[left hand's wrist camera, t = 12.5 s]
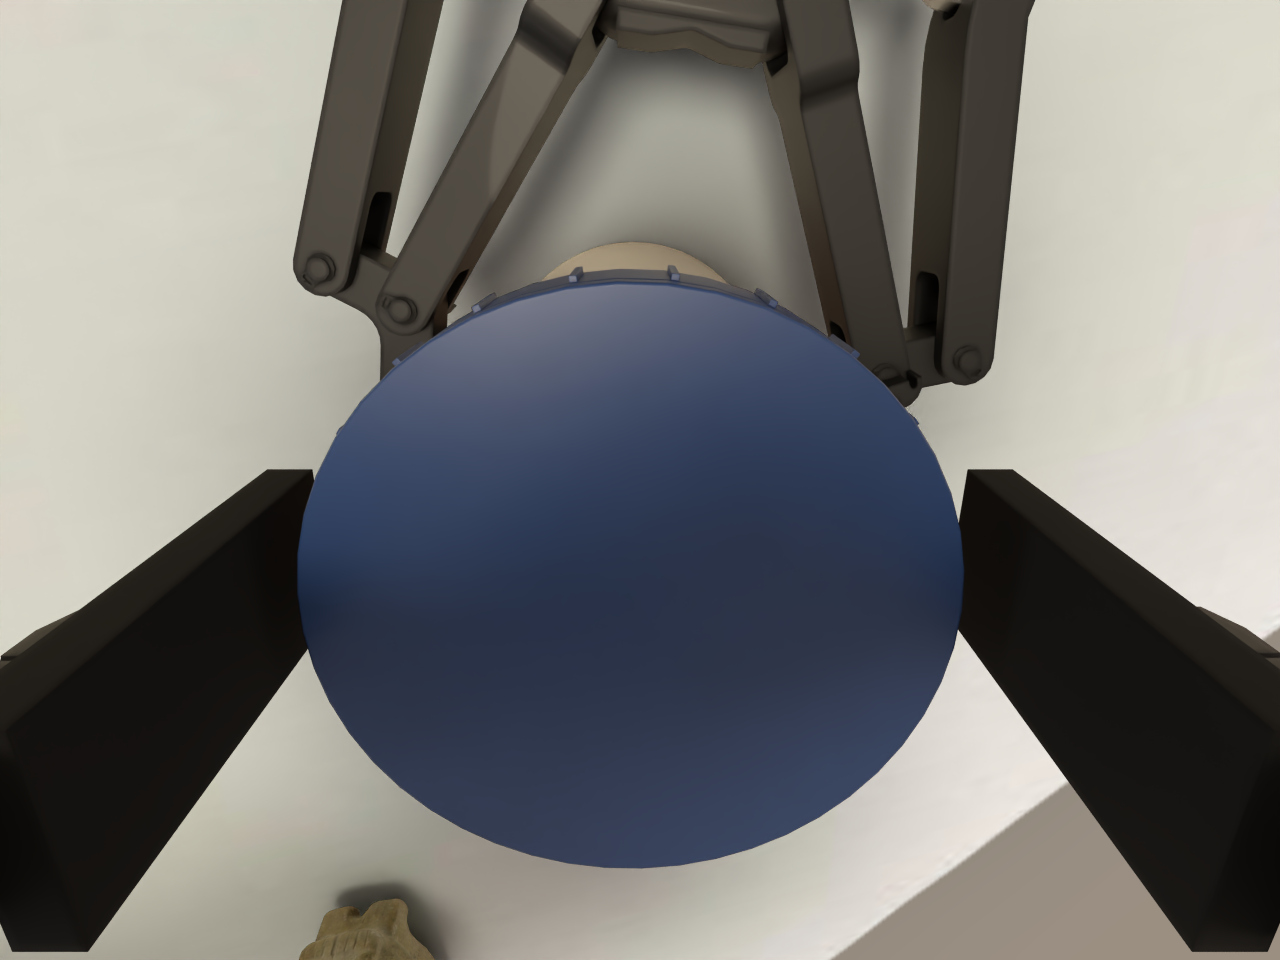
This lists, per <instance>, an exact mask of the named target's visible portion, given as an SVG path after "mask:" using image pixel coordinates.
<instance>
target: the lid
mask: <svg viewBox="0 0 1280 960" xmlns="http://www.w3.org/2000/svg"><path fill="white" fill-rule="evenodd" d="M777 304H778V302H777V301H776V300H775V299H773V298H772V297H771V296H769V295H768V294H767V293H765V292H764V291H763V290H760V289H758V288H757V289H756V291H755V293H752V292H750V291H748V290H745V289H742V288H739V287H735V286H732V285H729V284H726V283H723V282H720V281H716V280H713V279H710V278H707V277H702V276H696V275H690V274H684V273H679V272H678V270H677V268H676V266H674V265H668V268H667V271H666V270H648V269H611V270H601V271H591V272H583V267H582V266H581V267H575V269H574V270H573V271H572V272H571V273H570V275H566V276H562V277H558V278H554V279H550V280H546V281H541V282H537V283H534V284H531V285H529V286H526V287H523V288H521V289H518V290H516V291H513V292H511V293H508V294H506V295H503V296H501V297H498V298H497V296H496V294H495V293H492V294H490V295H488V296H487V297H486V298H484V299H483V300H481V301H480V302H478V303H477V304H475V305H474V306H473V307H471V308H472V310H473V311H472V312H471V313H469V314H467V315H465V316H463V317H462V318H460V319H458V320H457V321H455V322H454V323H453V324H451V325H450V326H448V327H447V328H445V329H444V330H443V331H441V332H440V333H438V334H437V335H436V336H434V337H433V338H431V339H430V340H429V341H427V342H426V343H425V344H424V343H423V342H422V341H420V342H419V343H417V344H416V345H414V346H413V347H412V348H410V349H409V350H407V351H406V352H404V353H403V354H401V355H400V356H398V357H397V358H396V359H395V360H394V361H393V362H392V363H393V365H394V366H395V367H394V368H392V369H391V370H390V371H389V372H388V373H387V375H386V376H385V377H384V378H383V379H382V380H381V381H380V382H379V383H378V384H377V385H376V386H375V387H374V388H373V389H372V390H371V391H370V392H369V393H368V394H367V395H366V396H365V397H364V398H363V399H362V401H361V402H360V403H359V404H358V406H357V407H356V409H355V410H354V411H353V413H352V414H351V416H350V417H349V418H348V420H347V421H346V423H345V424H344V425H343V426H342V427H340V428H339V430H338V432H337V433H336V434H337V435H336V437H335V439H334V441H333V443H332V445H331V447H330V449H329V451H328V453H327V455H326V457H325V459H324V461H323V463H322V465H321V467H320V469H319V471H318V473H317V475H316V477H315V480H314V484H313V487H312V490H311V493H310V496H309V499H308V502H307V505H306V509H305V512H304V515H303V522H302V528H301V535H300V541H299V547H298V554H297V595H298V602H299V608H300V615H301V622H302V629H303V634H304V637H305V640H306V644H307V647H308V650H309V654H310V657H311V660H312V663H313V667H314V669H315V672H316V674H317V676H318V678H319V680H320V682H321V685H322V687H323V689H324V691H325V693H326V695H327V698H328V700H329V702H330V704H331V705H332V707H333V708H334V710H335V711H336V713H337V715H338V716H339V718H340V719H341V721H342V722H343V724H344V726H345V727H346V729H347V730H348V732H349V733H350V735H351V736H352V737H353V738H354V739H355V741H356V742H357V743H358V744H359V746H360V747H361V748H362V749H363V750H364V752H365V753H366V754H367V755H368V756H369V758H370V759H371V760H372V761H373V762H374V763H375V764H376V765H377V766H378V767H379V768H380V769H381V770H382V771H383V772H384V773H385V774H386V775H387V776H389V777H390V778H391V779H392V780H393V781H394V782H395V783H396V784H397V785H398V786H399V787H400V788H402V789H403V790H404V791H406V792H407V793H408V794H410V795H411V796H412V797H414V798H415V799H416V800H418V801H419V802H420V803H422V804H423V805H424V806H426V807H427V808H428V809H430V810H431V811H433V812H435V813H437V814H438V815H440V816H442V817H443V818H445V819H447V820H449V821H450V822H452V823H454V824H455V825H457V826H459V827H460V828H462V829H464V830H467V831H469V832H471V833H473V834H476V835H478V836H480V837H482V838H485V839H487V840H489V841H491V842H493V843H496V844H499V845H502V846H505V847H508V848H511V849H514V850H517V851H520V852H523V853H526V854H529V855H532V856H537V857H541V858H546V859H550V860H555V861H560V862H564V863H569V864H578V865H586V866H595V867H603V868H653V867H666V866H678V865H685V864H690V863H696V862H701V861H707V860H712V859H717V858H721V857H724V856H728V855H731V854H735V853H738V852H742V851H745V850H749V849H752V848H754V847H757V846H759V845H762V844H764V843H767V842H769V841H772V840H774V839H777V838H779V837H782V836H784V835H787V834H789V833H791V832H792V831H794V830H796V829H798V828H800V827H802V826H804V825H806V824H808V823H809V822H811V821H813V820H815V819H817V818H819V817H820V816H822V815H823V814H825V813H826V812H828V811H829V810H831V809H832V808H834V807H835V806H837V805H838V804H840V803H841V802H842V801H844V800H845V799H847V798H848V797H850V796H851V795H852V794H853V793H854V792H856V791H857V790H858V789H859V788H860V787H861V786H863V785H864V784H865V783H866V782H867V781H868V780H870V779H871V778H872V777H873V776H874V775H875V774H877V773H878V772H879V771H880V769H881V768H882V767H883V766H884V765H885V764H886V763H887V762H888V761H889V760H890V759H891V757H892V756H893V755H894V754H895V753H896V752H897V751H898V750H899V749H900V748H901V747H902V745H903V744H904V743H905V741H906V740H907V738H908V737H909V736H910V734H911V733H912V731H913V730H914V729H915V727H916V726H917V724H918V723H919V721H920V720H921V719H922V717H923V716H924V714H925V712H926V710H927V708H928V707H929V705H930V703H931V701H932V699H933V697H934V695H935V693H936V691H937V690H938V688H939V686H940V684H941V682H942V679H943V676H944V674H945V671H946V668H947V665H948V663H949V660H950V657H951V654H952V652H953V649H954V645H955V641H956V636H957V631H958V626H959V622H960V617H961V612H962V600H963V584H964V563H963V551H962V540H961V531H960V527H959V523H958V519H957V515H956V511H955V507H954V502H953V498H952V494H951V491H950V489H949V487H948V484H947V482H946V479H945V477H944V475H943V472H942V470H941V467H940V465H939V463H938V460H937V458H936V455H935V453H934V452H933V450H932V449H931V447H930V445H929V444H928V442H927V440H926V439H925V437H924V435H923V434H922V432H921V430H920V429H919V427H918V426H917V425H918V424H919V423H918V421H917V420H916V418H915V417H913V416H912V415H911V414H910V413H908V412H907V410H906V409H905V408H904V407H903V406H902V404H901V403H900V402H899V401H898V400H897V398H896V397H895V396H894V395H893V394H892V392H891V391H890V390H889V389H888V388H887V386H886V385H885V384H884V383H883V382H882V381H881V380H879V379H878V378H877V377H876V376H875V375H874V374H873V373H872V372H870V371H869V370H868V369H867V368H866V367H865V366H864V365H863V364H861V363H860V362H859V361H858V360H857V358H858V356H859V355H860V353H858V352H857V351H856V350H855V349H853V348H852V347H851V346H849V345H848V344H846V343H845V342H844V341H842V340H841V339H839V338H838V337H836V336H835V335H834V334H832V335H831V336H830V337H827V336H826V335H825V334H823V333H822V332H821V331H819V330H818V329H816V328H815V327H813V326H812V325H810V324H808V323H807V322H805V321H804V320H802V319H801V318H799V317H798V316H796V315H795V314H793V313H792V312H790V311H789V310H787V309H786V308H784V307H782V306H780V305H777Z"/></svg>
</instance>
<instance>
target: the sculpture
mask: <svg viewBox="0 0 1280 960" xmlns="http://www.w3.org/2000/svg"><path fill="white" fill-rule="evenodd" d="M407 915H408V907H407V905H406V904H405V902H404V901H402V900H401V899H398V898H396V899H390V900H381V901H377V902H375V903H373V904H372V905H371V906H370V907H369V908H368V910H367V911H366V912H365V913H364V914H363V915H362V916H360V912H359V910H358V908H355V907H353V906H348V907H342V908H338V909H335V910H332V911H329V912H328V913H327V914H326V915H325V916H324V918H323V921H322V924H321V927H320V929H319V932H318V935H317V939H316V942H313V943H311V944H309V945H308V946H307V947H306V948H305V949H304V950H303V951H302V953H301V955H300V957H299V960H435V959H434V957H433V956H432V955H431V953H430V952H429V951H428V950H427V948H426V947H425V946H423V945H422V944H421V943H420V942H419V941H417V940H416V939H415V937H414V936H413V935H412V934H411V933H410V931H409V928H408V924H407Z"/></svg>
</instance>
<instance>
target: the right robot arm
mask: <svg viewBox="0 0 1280 960" xmlns="http://www.w3.org/2000/svg"><path fill="white" fill-rule="evenodd" d="M443 1H444V0H342V5H341V11H340V16H339V21H338V26H337V32H336V37H335V42H334V48H333V53H332V58H331V63H330V69H329V74H328V79H327V84H326V90H325V95H324V100H323V105H322V111H321V116H320V121H319V126H318V132H317V137H316V142H315V147H314V153H313V158H312V163H311V168H310V174H309V179H308V184H307V189H306V195H305V200H304V205H303V210H302V216H301V221H300V226H299V231H298V237H297V242H296V247H295V252H294V258H293V270H294V273H295V275H296V278H297V280H298V282H299V283H300V284H301V285H302V286H303V287H304V289H305V290H307V291H309V292H311V293H312V294H314V295H319V296H325V297H326V296H332V297H334V298H336V299H338V300H340V301H342V302H344V303H346V304H348V305H350V306H352V307H354V308H356V309H358V310H359V311H361V312H362V313H364V314H365V315H367V316H368V317H369V318H370V319H371V320H372V322H373V323H374V325H375V326H376V328H377V330H378V333H379V336H380V342H381V362H380V381H381V380H382V379H383V378H384V377H385V376H386V375H387V373H388V372H389V371H390V370H391V369H392V368H394V367H395V366H394V365H393V363H392V362H393V361H394V360H395V359H396V358H397V357H398V356H400V355H401V354H403V353H404V352H406V351H407V350H409V349H410V348H412V347H413V346H414V345H416V344H417V343H419V342H420V341H422V342H423V343H424V344H425V343H426V342H427V341H429V340H430V339H431V338H433V337H434V336H436V335H437V334H438V333H440V332H441V331H443V330H444V329H445V328H447V314H449V313H450V312H451V311H452V310H453V309H454V308H455V307H456V306H457V305H455V304H454V302H455V300H456V298H457V297H458V295H459V293H460V291H461V290H462V288H463V286H464V284H465V283H466V281H467V279H468V277H469V275H470V274H471V272H472V270H473V268H474V267H475V265H476V263H477V261H478V260H479V258H480V256H481V254H482V252H483V251H484V249H485V247H486V245H487V244H488V242H489V240H490V238H491V237H492V235H493V233H494V231H495V230H496V228H497V226H498V224H499V222H500V221H501V219H502V217H503V215H504V214H505V212H506V210H507V208H508V207H509V205H510V203H511V201H512V199H513V198H514V196H515V194H516V192H517V191H518V189H519V187H520V185H521V184H522V182H523V180H524V178H525V176H526V175H527V173H528V171H529V169H530V168H531V166H532V164H533V162H534V161H535V159H536V157H537V155H538V154H539V152H540V150H541V148H542V146H543V145H544V143H545V141H546V139H547V138H548V136H549V134H550V132H551V131H552V129H553V127H554V125H555V123H556V122H557V120H558V118H559V116H560V115H561V113H562V111H563V109H564V108H565V106H566V104H567V102H568V100H569V99H570V97H571V95H572V93H573V92H574V90H575V88H576V87H577V85H578V84H579V83H580V81H581V80H582V79H583V78H584V77H585V75H586V74H587V72H588V70H589V69H590V67H591V65H592V64H593V62H594V60H595V58H596V57H597V55H598V53H599V51H600V50H601V48H602V46H603V44H604V42H605V41H606V39H607V37H610V38H612V39H614V40H616V41H617V44H618V47H620V48H626V49H632V50H638V51H645V52H658V51H665V50H673V49H680V48H688V49H691V50H693V51H695V52H697V53H699V54H701V55H703V56H705V57H707V58H709V59H711V60H713V61H715V62H717V63H719V64H725V65H732V66H738V67H744V68H750V69H752V68H753V67H754V66H755V65H756V64H757V63H762V64H763V68H764V73H765V77H766V81H767V86H768V90H769V94H770V98H771V102H772V105H773V107H774V110H775V111H776V113H777V115H778V118H779V121H780V125H781V129H782V133H783V138H784V142H785V147H786V151H787V156H788V160H789V164H790V169H791V173H792V178H793V182H794V186H795V191H796V195H797V200H798V204H799V209H800V213H801V217H802V222H803V226H804V231H805V235H806V240H807V244H808V248H809V253H810V257H811V262H812V266H813V270H814V275H815V279H816V284H817V288H818V293H819V297H820V301H821V306H822V310H823V315H824V319H825V323H826V328H827V332H828V337H830V336H831V335H832V334H834V335H835V336H836V337H838V338H839V339H841V340H842V341H844V342H845V343H846V344H848V345H849V346H851V347H852V348H853V349H855V350H856V351H857V352H858V353H860V355H859V356H858V358H857V360H858V361H859V362H860V363H861V364H863V365H864V366H865V367H866V368H867V369H868V370H869V371H870V372H872V373H873V374H874V375H875V376H876V377H877V378H878V379H879V380H881V381H882V382H883V383H884V384H885V385H886V386H887V388H888V389H889V390H890V391H891V392H892V394H893V395H894V396H895V397H896V398H897V400H898V401H899V402H900V403H901V404H902V406H903V407H904V408H905V407H907V406H909V405H911V404H912V403H913V402H914V400H915V399H916V398H917V397H918V396H919V393H920V391H921V389H922V388H924V387H929V386H934V385H939V384H943V383H948V382H953V383H954V384H957V385H969V384H973V383H976V382H977V381H979V380H980V379H982V378H983V377H984V376H985V375H986V374H987V372H988V371H989V370H990V368H991V365H992V362H993V359H994V349H995V339H996V329H997V320H998V310H999V300H1000V290H1001V280H1002V270H1003V261H1004V251H1005V241H1006V231H1007V221H1008V211H1009V201H1010V192H1011V182H1012V172H1013V162H1014V152H1015V142H1016V133H1017V123H1018V113H1019V103H1020V93H1021V83H1022V74H1023V64H1024V54H1025V44H1026V34H1027V24H1028V17H1029V14H1030V12H1031V9H1032V7H1033V4H1034V2H1035V0H923V2H924V3H925V4H926V5H927V6H928V7H930V8H932V9H934V12H933V15H932V19H931V22H930V26H929V31H928V35H927V40H926V45H925V53H924V62H923V73H922V90H921V106H920V123H919V140H918V157H917V173H916V190H915V207H914V224H913V241H912V257H911V274H910V291H909V308H908V325H907V328H903V326H902V321H901V315H900V310H899V305H898V300H897V294H896V289H895V284H894V278H893V273H892V268H891V263H890V257H889V252H888V247H887V242H886V236H885V231H884V226H883V221H882V215H881V210H880V205H879V200H878V194H877V189H876V184H875V179H874V173H873V168H872V163H871V158H870V152H869V147H868V142H867V137H866V131H865V126H864V121H863V116H862V110H861V105H860V100H859V94H858V78H859V72H860V71H859V55H858V49H857V43H856V38H855V33H854V27H853V22H852V17H851V11H850V6H849V1H848V0H527V2H526V4H525V6H524V8H523V11H522V14H521V16H520V21H519V25H518V29H517V32H516V34H515V36H514V38H513V40H512V42H511V44H510V46H509V48H508V50H507V52H506V54H505V55H504V57H503V59H502V61H501V63H500V65H499V67H498V69H497V71H496V72H495V74H494V76H493V78H492V80H491V82H490V84H489V86H488V88H487V89H486V91H485V93H484V95H483V97H482V99H481V101H480V103H479V105H478V106H477V108H476V110H475V112H474V114H473V116H472V118H471V120H470V122H469V124H468V125H467V127H466V129H465V131H464V133H463V135H462V137H461V139H460V141H459V142H458V144H457V146H456V148H455V150H454V152H453V154H452V156H451V158H450V159H449V161H448V163H447V165H446V167H445V169H444V171H443V173H442V175H441V176H440V178H439V180H438V182H437V184H436V186H435V188H434V190H433V192H432V193H431V195H430V197H429V199H428V201H427V203H426V205H425V207H424V209H423V210H422V212H421V214H420V216H419V218H418V220H417V222H416V224H415V226H414V228H413V229H412V231H411V233H410V235H409V237H408V239H407V241H406V243H405V245H404V246H403V248H402V250H401V252H400V254H399V256H398V258H396V257H394V256H392V255H390V254H388V253H386V247H387V243H388V239H389V234H390V230H391V226H392V221H393V217H394V213H395V208H396V204H397V200H398V195H399V191H400V187H401V182H402V178H403V174H404V170H405V165H406V161H407V157H408V152H409V148H410V144H411V139H412V135H413V131H414V126H415V122H416V118H417V113H418V109H419V105H420V100H421V96H422V92H423V87H424V83H425V79H426V74H427V70H428V66H429V61H430V57H431V53H432V48H433V44H434V40H435V36H436V31H437V27H438V23H439V18H440V14H441V10H442V5H443Z"/></svg>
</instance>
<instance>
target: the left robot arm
mask: <svg viewBox="0 0 1280 960" xmlns="http://www.w3.org/2000/svg"><path fill="white" fill-rule="evenodd" d="M313 484H314V477H313V471H312V469H267V470H266V471H265V472H263V473H262V474H261V475H259V476H258V477H257V478H255V479H254V480H253V481H251V482H250V483H249V484H247V485H246V486H245V487H243V488H242V489H241V490H239V491H238V492H237V493H235V494H234V495H233V496H231V497H230V498H229V499H227V500H226V501H225V502H223V503H222V504H221V505H219V506H218V507H216V508H215V509H214V510H212V511H211V512H210V513H208V514H207V515H206V516H204V517H203V518H202V519H200V520H199V521H198V522H196V523H195V524H194V525H192V526H191V527H190V528H188V529H187V530H186V531H184V532H183V533H182V534H180V535H179V536H178V537H176V538H175V539H174V540H172V541H171V542H170V543H168V544H167V545H166V546H164V547H163V548H162V549H160V550H159V551H158V552H156V553H155V554H154V555H152V556H151V557H150V558H148V559H147V560H146V561H144V562H143V563H142V564H140V565H139V566H138V567H136V568H135V569H134V570H132V571H131V572H129V573H128V574H127V575H125V576H124V577H123V578H121V579H120V580H119V581H117V582H116V583H115V584H113V585H112V586H111V587H109V588H108V589H107V590H105V591H104V592H103V593H101V594H100V595H99V596H97V597H96V598H95V599H93V600H92V601H91V602H89V603H88V604H87V605H85V606H84V607H83V608H81V609H80V610H78V611H76V612H74V613H72V614H70V615H68V616H65V617H63V618H61V619H59V620H57V621H55V622H53V623H51V624H49V625H47V626H44V627H42V628H40V629H38V630H36V631H34V632H33V633H32V634H30V635H29V636H28V637H26V638H25V639H23V640H22V641H21V642H19V643H18V644H17V645H15V646H14V647H12V648H11V649H10V650H8V651H7V652H6V653H4V654H3V655H1V660H0V924H1V926H2V929H3V931H4V933H5V936H6V938H7V940H8V943H9V945H10V947H11V950H12V952H88V951H89V950H90V948H91V947H92V945H93V944H94V943H95V941H96V940H97V939H98V937H99V936H100V934H101V933H102V932H103V930H104V929H105V928H106V926H107V925H108V923H109V922H110V921H111V919H112V918H113V917H114V915H115V914H116V912H117V911H118V910H119V908H120V907H121V906H122V904H123V903H124V901H125V900H126V899H127V897H128V896H129V895H130V893H131V892H132V890H133V889H134V888H135V886H136V885H137V883H138V882H139V881H140V879H141V878H142V877H143V875H144V874H145V872H146V871H147V870H148V868H149V867H150V866H151V864H152V863H153V861H154V860H155V859H156V857H157V856H158V855H159V853H160V852H161V850H162V849H163V848H164V846H165V845H166V844H167V842H168V841H169V839H170V838H171V837H172V835H173V834H174V833H175V831H176V830H177V828H178V827H179V826H180V824H181V823H182V821H183V820H184V819H185V817H186V816H187V815H188V813H189V812H190V810H191V809H192V808H193V806H194V805H195V804H196V802H197V801H198V799H199V798H200V797H201V795H202V794H203V793H204V791H205V790H206V788H207V787H208V786H209V784H210V783H211V782H212V780H213V779H214V777H215V776H216V775H217V773H218V772H219V771H220V769H221V768H222V766H223V765H224V764H225V762H226V761H227V759H228V758H229V757H230V755H231V754H232V753H233V751H234V750H235V748H236V747H237V746H238V744H239V743H240V742H241V740H242V739H243V737H244V736H245V735H246V733H247V732H248V731H249V729H250V728H251V726H252V725H253V724H254V722H255V721H256V720H257V718H258V717H259V715H260V714H261V713H262V711H263V710H264V709H265V707H266V706H267V704H268V703H269V702H270V700H271V699H272V697H273V696H274V695H275V693H276V692H277V691H278V689H279V688H280V686H281V685H282V684H283V682H284V681H285V680H286V678H287V677H288V675H289V674H290V673H291V671H292V670H293V669H294V667H295V666H296V664H297V663H298V662H299V660H300V659H301V658H302V656H303V655H304V653H305V652H306V651H307V649H308V647H307V644H306V640H305V637H304V634H303V629H302V622H301V615H300V608H299V602H298V595H297V554H298V547H299V541H300V535H301V528H302V522H303V515H304V512H305V509H306V505H307V502H308V499H309V496H310V493H311V490H312V487H313ZM959 527H960V531H961V540H962V551H963V563H964V584H963V600H962V612H961V617H960V622H959V626H958V630H959V631H960V633H961V634H962V635H963V637H964V638H965V640H966V641H967V642H968V644H969V645H970V646H971V648H972V649H973V651H974V652H975V653H976V655H977V656H978V658H979V659H980V660H981V662H982V663H983V664H984V666H985V667H986V669H987V670H988V671H989V673H990V674H991V675H992V677H993V678H994V680H995V681H996V682H997V684H998V685H999V686H1000V688H1001V689H1002V691H1003V692H1004V693H1005V695H1006V696H1007V697H1008V699H1009V700H1010V702H1011V703H1012V704H1013V706H1014V707H1015V709H1016V710H1017V711H1018V713H1019V714H1020V715H1021V717H1022V718H1023V720H1024V721H1025V722H1026V724H1027V725H1028V726H1029V728H1030V729H1031V731H1032V732H1033V733H1034V735H1035V736H1036V737H1037V739H1038V740H1039V742H1040V743H1041V744H1042V746H1043V747H1044V748H1045V750H1046V751H1047V753H1048V754H1049V755H1050V757H1051V758H1052V759H1053V761H1054V762H1055V764H1056V765H1057V766H1058V768H1059V769H1060V771H1061V772H1062V773H1063V775H1064V776H1065V777H1066V779H1067V780H1068V782H1069V783H1070V784H1071V786H1072V787H1073V788H1074V790H1075V791H1076V793H1077V794H1078V795H1079V797H1080V798H1081V799H1082V801H1083V802H1084V804H1085V805H1086V806H1087V808H1088V809H1089V810H1090V812H1091V813H1092V815H1093V816H1094V817H1095V819H1096V820H1097V821H1098V823H1099V824H1100V826H1101V827H1102V828H1103V830H1104V831H1105V832H1106V834H1107V835H1108V837H1109V838H1110V839H1111V841H1112V842H1113V844H1114V845H1115V846H1116V848H1117V849H1118V850H1119V852H1120V853H1121V855H1122V856H1123V857H1124V859H1125V860H1126V861H1127V863H1128V864H1129V866H1130V867H1131V868H1132V870H1133V871H1134V872H1135V874H1136V875H1137V877H1138V878H1139V879H1140V881H1141V882H1142V883H1143V885H1144V886H1145V888H1146V889H1147V890H1148V892H1149V893H1150V894H1151V896H1152V897H1153V899H1154V900H1155V901H1156V903H1157V904H1158V906H1159V907H1160V908H1161V910H1162V911H1163V912H1164V914H1165V915H1166V917H1167V918H1168V919H1169V921H1170V922H1171V923H1172V925H1173V926H1174V928H1175V929H1176V930H1177V932H1178V933H1179V934H1180V936H1181V937H1182V939H1183V940H1184V941H1185V943H1186V944H1187V945H1188V947H1189V948H1190V950H1191V951H1192V952H1268V950H1269V947H1270V945H1271V943H1272V940H1273V938H1274V936H1275V933H1276V931H1277V929H1278V926H1279V924H1280V653H1279V652H1278V651H1277V650H1275V649H1274V648H1273V647H1271V646H1270V645H1268V644H1267V643H1266V642H1264V641H1263V640H1262V639H1260V638H1259V637H1257V636H1256V635H1255V634H1253V633H1252V632H1250V631H1249V630H1248V629H1246V628H1245V627H1242V626H1240V625H1238V624H1236V623H1234V622H1232V621H1230V620H1228V619H1225V618H1223V617H1221V616H1219V615H1217V614H1215V613H1213V612H1211V611H1208V610H1206V609H1204V608H1202V607H1196V606H1195V605H1193V604H1192V603H1191V602H1189V601H1188V600H1187V599H1185V598H1184V597H1183V596H1181V595H1180V594H1179V593H1177V592H1176V591H1175V590H1173V589H1172V588H1171V587H1169V586H1168V585H1167V584H1165V583H1164V582H1163V581H1161V580H1160V579H1159V578H1157V577H1156V576H1155V575H1153V574H1152V573H1151V572H1149V571H1148V570H1146V569H1145V568H1144V567H1142V566H1141V565H1140V564H1138V563H1137V562H1136V561H1134V560H1133V559H1132V558H1130V557H1129V556H1128V555H1126V554H1125V553H1124V552H1122V551H1121V550H1120V549H1118V548H1117V547H1116V546H1114V545H1113V544H1112V543H1110V542H1109V541H1108V540H1106V539H1105V538H1104V537H1102V536H1101V535H1100V534H1098V533H1097V532H1096V531H1094V530H1093V529H1092V528H1090V527H1089V526H1088V525H1086V524H1085V523H1084V522H1082V521H1081V520H1080V519H1078V518H1077V517H1076V516H1074V515H1073V514H1072V513H1070V512H1069V511H1068V510H1066V509H1065V508H1064V507H1062V506H1061V505H1059V504H1058V503H1057V502H1055V501H1054V500H1053V499H1051V498H1050V497H1049V496H1047V495H1046V494H1045V493H1043V492H1042V491H1041V490H1039V489H1038V488H1037V487H1035V486H1034V485H1033V484H1031V483H1030V482H1029V481H1027V480H1026V479H1025V478H1023V477H1022V476H1021V475H1019V474H1018V473H1017V472H1015V471H1014V470H1013V469H968V471H967V477H966V483H965V489H964V495H963V501H962V507H961V513H960V519H959Z"/></svg>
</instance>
